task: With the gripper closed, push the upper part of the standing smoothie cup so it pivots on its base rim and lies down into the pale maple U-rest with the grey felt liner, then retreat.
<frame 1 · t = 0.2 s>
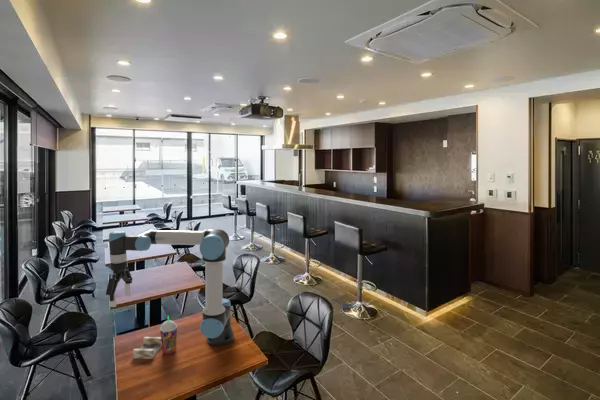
hand: (120, 300, 174), 28 cm above the table, fingers open, 13 cm apart
smoothie: (169, 351, 178), on the table
rest: (148, 351, 178), on the table
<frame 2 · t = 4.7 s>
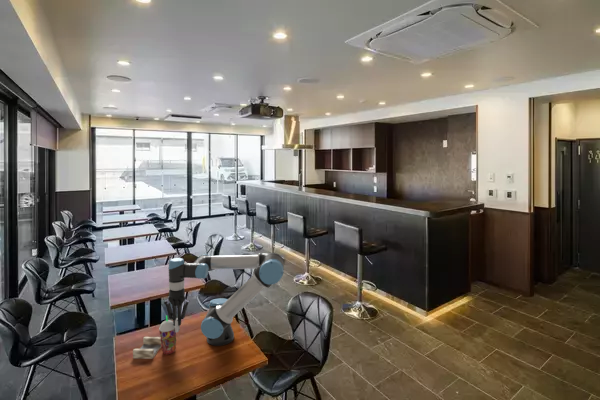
hand: (177, 331, 176), 12 cm above the table, fingers closed
smoothie: (169, 351, 178), on the table, touching gripper
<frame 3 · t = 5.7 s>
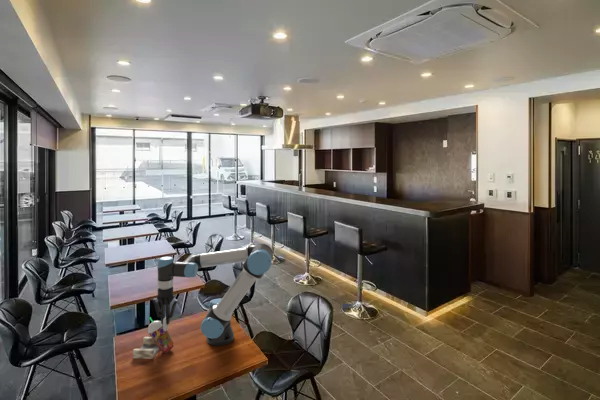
hand: (165, 329, 176), 12 cm above the table, fingers closed
smoothie: (168, 349, 178), point 1 cm above the table, touching gripper
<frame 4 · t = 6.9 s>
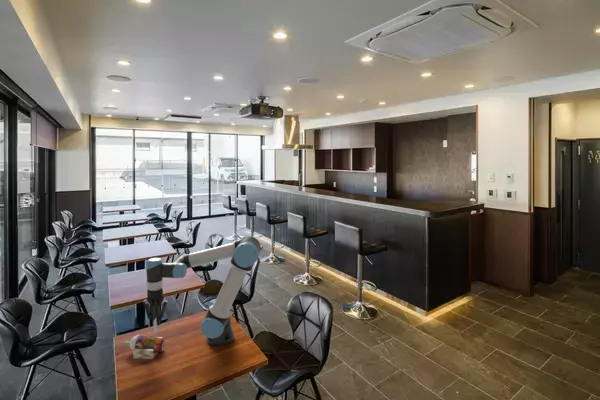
hand: (156, 330, 176), 12 cm above the table, fingers closed
smoothie: (164, 345, 178), point 3 cm above the table, touching rest
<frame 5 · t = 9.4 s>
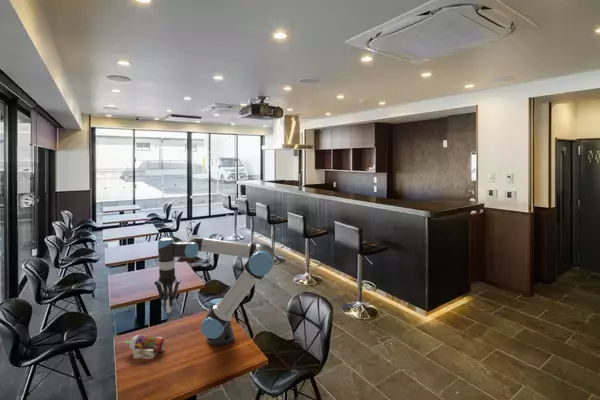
hand: (169, 311, 175), 22 cm above the table, fingers closed
nothing on the table moved.
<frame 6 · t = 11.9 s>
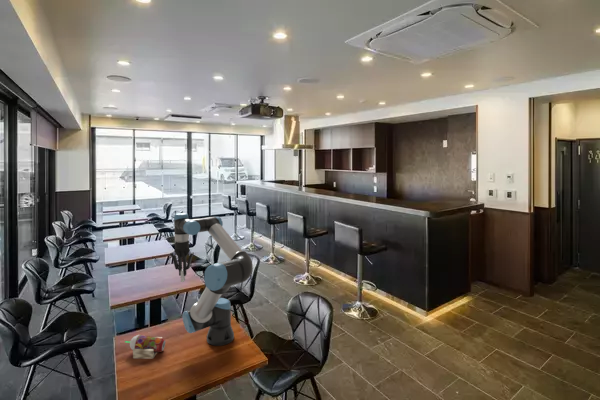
hand: (182, 280, 191), 32 cm above the table, fingers closed
nothing on the table moved.
at the end: smoothie tilted 83°; smoothie touching rest, table; smoothie inside the target area (1.2 cm from its centre), point 3.3 cm above the table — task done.
